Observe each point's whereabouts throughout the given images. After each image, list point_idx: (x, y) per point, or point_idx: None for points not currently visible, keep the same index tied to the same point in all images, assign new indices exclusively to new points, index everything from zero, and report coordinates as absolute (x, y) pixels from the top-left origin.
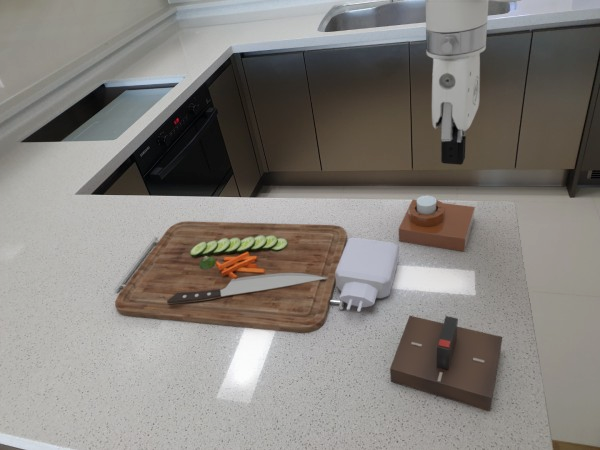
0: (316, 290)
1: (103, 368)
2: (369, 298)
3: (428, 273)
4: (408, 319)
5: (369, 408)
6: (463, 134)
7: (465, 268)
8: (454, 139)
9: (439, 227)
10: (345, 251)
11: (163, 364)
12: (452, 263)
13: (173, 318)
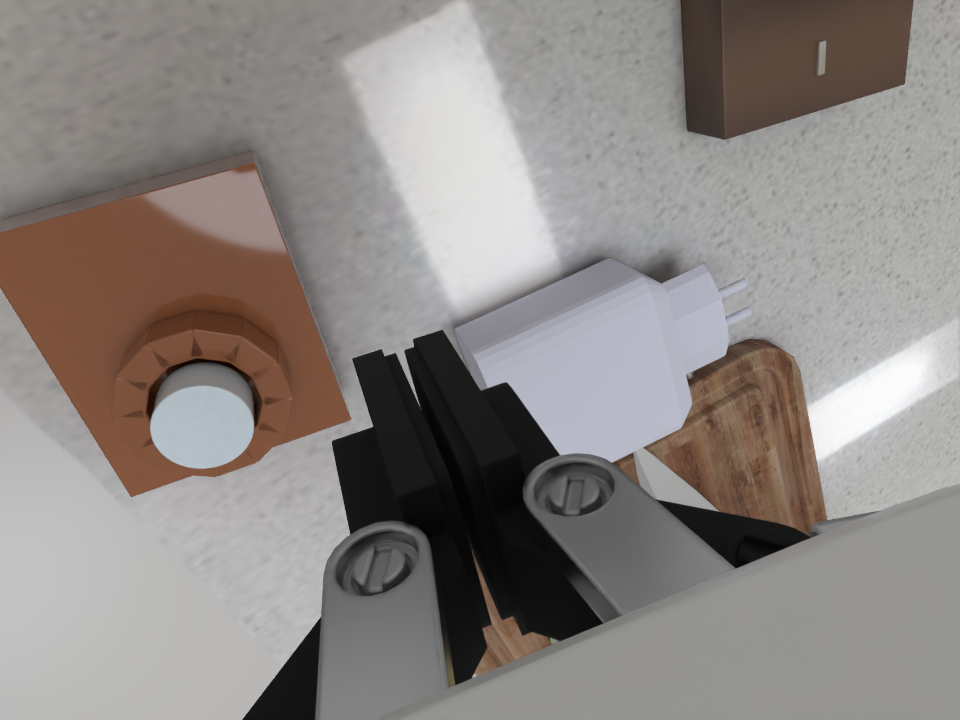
0: (680, 429)
1: None
2: (706, 284)
3: (444, 209)
4: (741, 133)
5: (928, 86)
6: (419, 531)
7: (346, 98)
8: (702, 517)
9: (247, 297)
10: None
11: None
12: (347, 158)
13: None
